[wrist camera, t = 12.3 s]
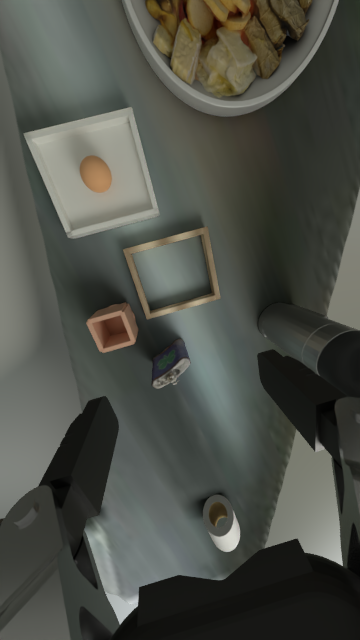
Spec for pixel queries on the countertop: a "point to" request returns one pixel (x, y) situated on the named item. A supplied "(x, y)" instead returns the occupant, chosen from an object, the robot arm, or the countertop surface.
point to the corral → (184, 304)
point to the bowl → (228, 47)
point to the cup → (113, 327)
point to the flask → (170, 364)
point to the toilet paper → (226, 534)
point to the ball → (95, 174)
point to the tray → (116, 151)
